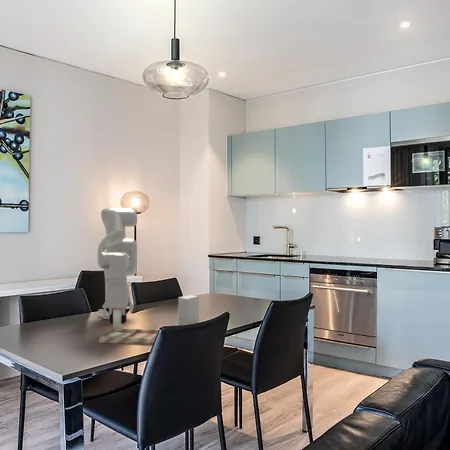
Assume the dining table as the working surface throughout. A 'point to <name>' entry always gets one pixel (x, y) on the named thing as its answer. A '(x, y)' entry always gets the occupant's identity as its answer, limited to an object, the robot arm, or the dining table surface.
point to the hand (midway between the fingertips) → (118, 322)
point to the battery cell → (117, 318)
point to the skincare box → (188, 309)
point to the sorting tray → (128, 336)
